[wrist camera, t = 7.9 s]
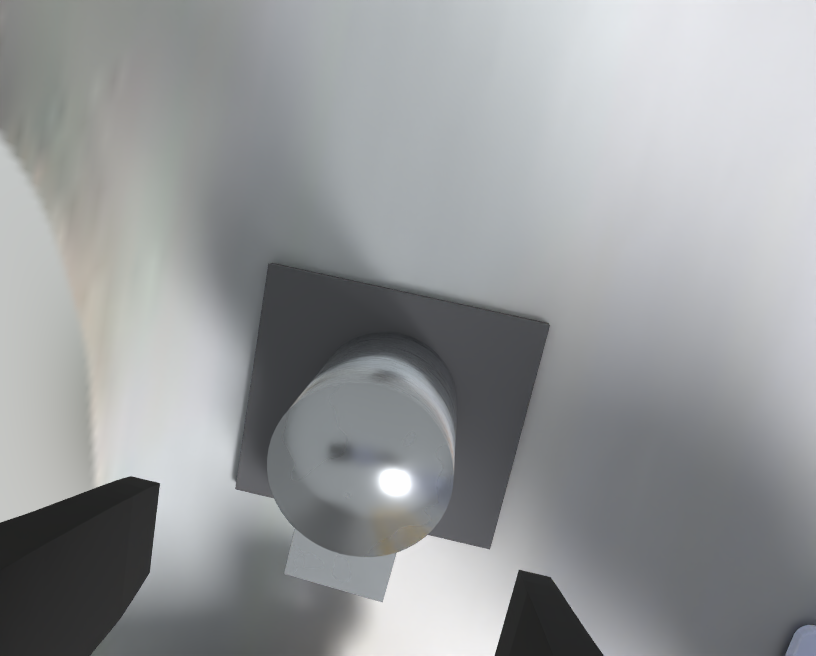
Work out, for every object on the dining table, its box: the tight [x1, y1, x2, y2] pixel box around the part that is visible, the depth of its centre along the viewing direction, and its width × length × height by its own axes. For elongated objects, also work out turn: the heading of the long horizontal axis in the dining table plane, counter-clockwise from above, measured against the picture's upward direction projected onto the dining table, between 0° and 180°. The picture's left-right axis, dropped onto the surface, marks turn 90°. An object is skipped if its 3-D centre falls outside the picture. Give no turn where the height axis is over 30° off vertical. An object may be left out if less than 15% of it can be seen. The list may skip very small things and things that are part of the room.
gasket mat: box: [235, 263, 550, 549], centre depth 20 cm, size 9×8×1 cm
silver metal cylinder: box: [267, 332, 457, 602], centre depth 18 cm, size 5×7×5 cm, turn 166°
